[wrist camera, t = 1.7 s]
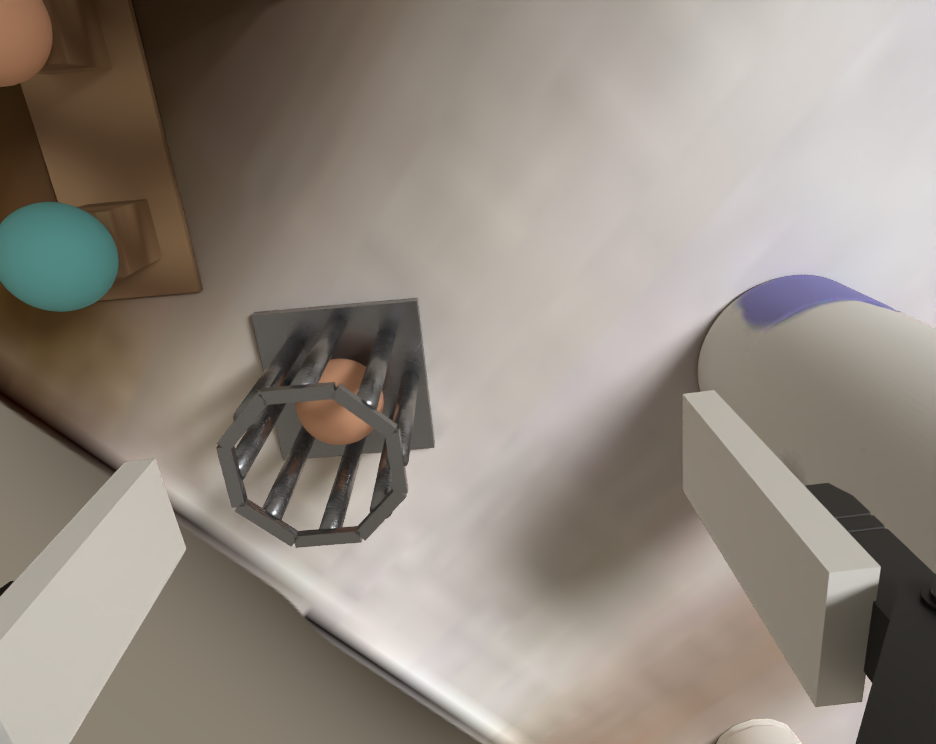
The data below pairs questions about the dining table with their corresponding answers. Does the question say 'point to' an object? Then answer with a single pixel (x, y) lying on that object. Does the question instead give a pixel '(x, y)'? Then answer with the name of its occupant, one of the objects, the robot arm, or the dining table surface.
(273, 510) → the grey barred cage
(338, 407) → the tube ball
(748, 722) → the foam cup
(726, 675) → the dining table surface
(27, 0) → the rack ball terracotta
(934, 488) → the container
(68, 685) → the robot arm
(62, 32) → the rack
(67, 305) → the teal ball
